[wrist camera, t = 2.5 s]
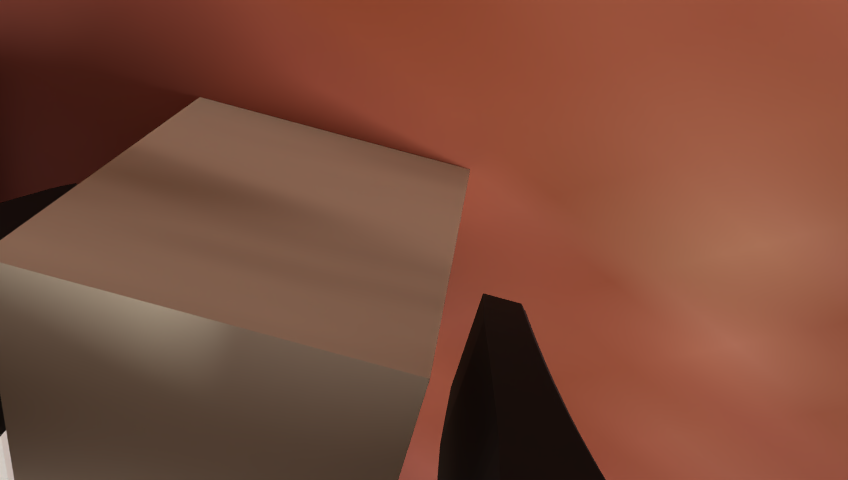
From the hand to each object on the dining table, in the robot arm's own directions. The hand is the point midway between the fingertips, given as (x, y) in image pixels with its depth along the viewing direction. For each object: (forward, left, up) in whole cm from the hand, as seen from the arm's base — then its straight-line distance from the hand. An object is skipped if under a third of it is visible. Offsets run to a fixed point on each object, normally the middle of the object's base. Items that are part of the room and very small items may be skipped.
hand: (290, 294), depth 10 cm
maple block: (0, 0, -2) cm, 2 cm away
